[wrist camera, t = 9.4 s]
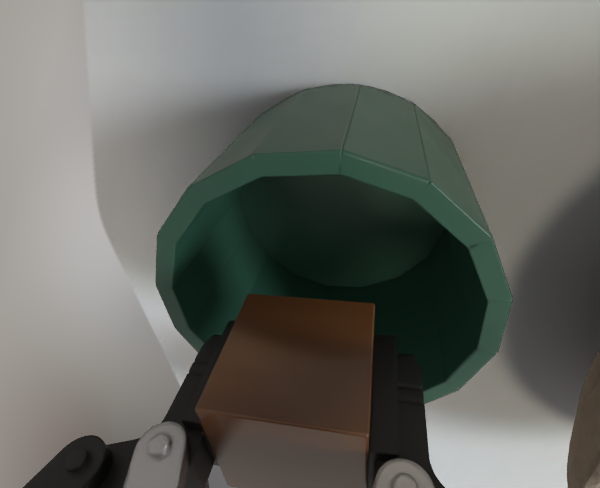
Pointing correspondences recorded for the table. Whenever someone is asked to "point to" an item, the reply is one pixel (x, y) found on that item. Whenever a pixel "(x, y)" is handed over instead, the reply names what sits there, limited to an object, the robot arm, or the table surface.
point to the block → (292, 394)
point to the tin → (342, 230)
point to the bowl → (586, 434)
